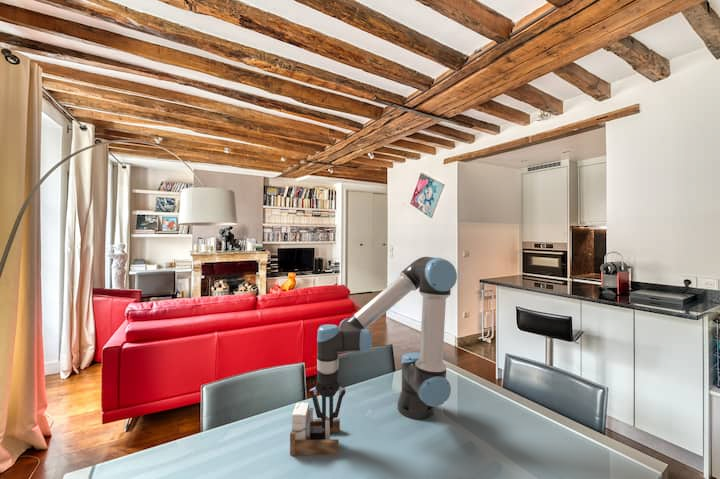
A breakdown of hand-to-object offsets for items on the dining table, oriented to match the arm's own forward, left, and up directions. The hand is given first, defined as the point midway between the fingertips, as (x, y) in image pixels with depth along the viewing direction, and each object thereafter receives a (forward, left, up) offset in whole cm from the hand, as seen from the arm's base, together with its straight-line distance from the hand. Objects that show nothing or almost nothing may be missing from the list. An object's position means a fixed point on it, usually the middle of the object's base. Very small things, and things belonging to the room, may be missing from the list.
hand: (327, 436), depth 108 cm
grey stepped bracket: (+4, 0, -1) cm, 4 cm away
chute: (+3, 0, -2) cm, 4 cm away
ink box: (+9, 0, -2) cm, 9 cm away
